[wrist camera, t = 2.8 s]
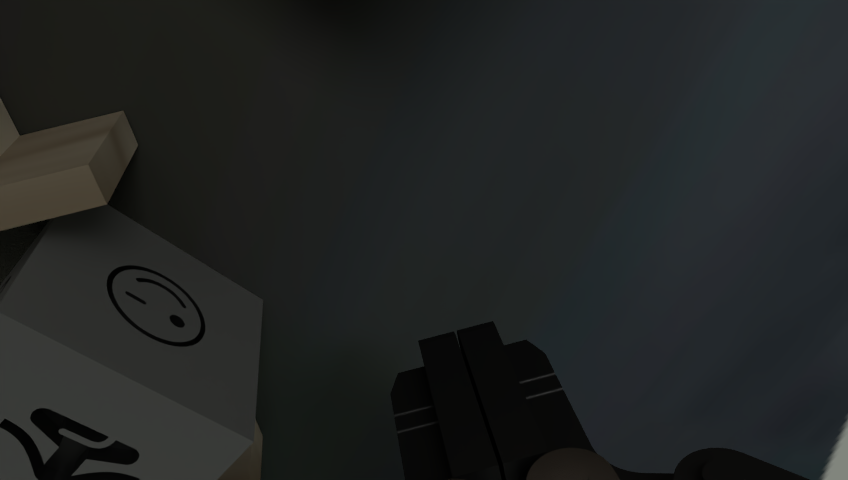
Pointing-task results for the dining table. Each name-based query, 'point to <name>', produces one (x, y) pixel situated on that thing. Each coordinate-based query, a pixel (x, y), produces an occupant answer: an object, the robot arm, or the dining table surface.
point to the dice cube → (123, 357)
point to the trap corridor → (77, 193)
